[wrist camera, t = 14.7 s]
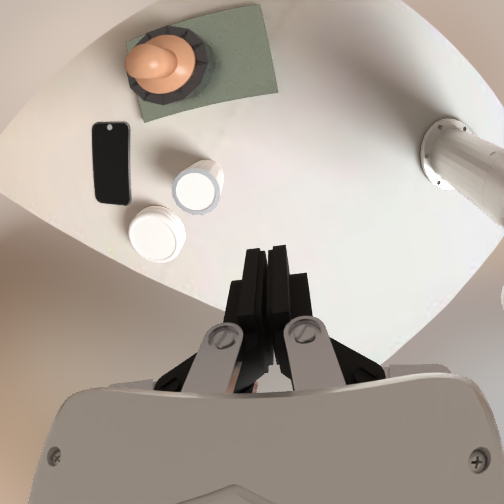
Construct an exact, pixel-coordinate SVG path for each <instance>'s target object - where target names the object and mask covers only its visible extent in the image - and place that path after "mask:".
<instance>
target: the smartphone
mask: <svg viewBox="0 0 504 504" xmlns="http://www.w3.org/2000/svg"><path fill="white" fill-rule="evenodd" d="M92 151H93V171H94V184H95V196H96V199H97V201H98V202H100V203H106V204H115V205H124V206H127V205H129V204H130V203H131V179H130V126H129V124H128V123H127V122H97V123H95V124H94V125H93V127H92Z"/></svg>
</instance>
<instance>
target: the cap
mask: <svg viewBox="0 0 504 504" xmlns="http://www.w3.org/2000/svg"><path fill="white" fill-rule="evenodd" d="M195 64H196V58H195V53H194V50H193V48H192V47H191V45H190V44H189V43H188V42H187V41H185V40H184V39H182V38H180V37H177V36H174V35H161V36H157V37H155V38H152V39H151V40H149V41H148V42H146V43H145V44H140V45H137V46H136V47H134V48H133V49H132V50H131V51H130V52H129V53H128V55H127V57H126V60H125V68H126V71H127V72H128V74H129V75H130V76H132V77H134V78H135V79H136V81H137V83H138V84H139V85H140V86H141V87H142V88H143V89H145V90H146V91H148V92H151V93H156V94H162V93H169V92H173V91H175V90H177V89H179V88H181V87H182V86H183V85H184V84H186V82H187V81H188V80H189V79H190V78H191V76H192V74H193V72H194V69H195Z"/></svg>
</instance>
